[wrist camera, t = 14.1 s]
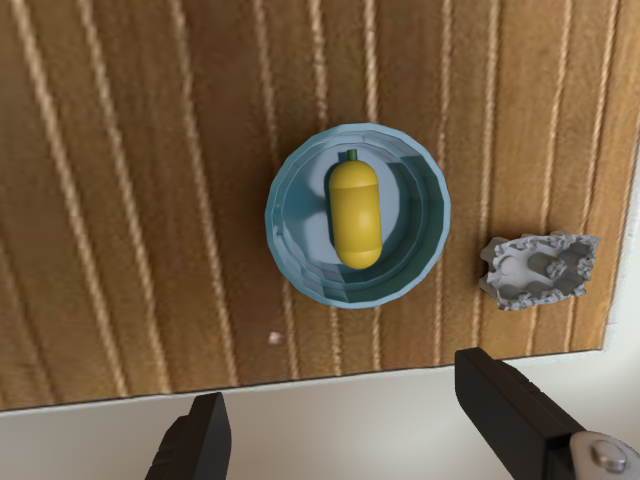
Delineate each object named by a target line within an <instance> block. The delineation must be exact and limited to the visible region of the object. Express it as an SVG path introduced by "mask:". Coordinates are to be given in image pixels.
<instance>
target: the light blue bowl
mask: <svg viewBox="0 0 640 480" xmlns="http://www.w3.org/2000/svg"><path fill="white" fill-rule="evenodd" d="M350 149H357V158H358V159H357V160H360V161H363V162H366V163H367V164H369V165H370V166H371V167H372V168H373V169H374V171H375V173H376V175H377V177H378V183H379V199H380V216H381V232H382V251H381V254H380V256H379V258H378V260H377V261H376V262H375V263H374V264H373V265H371V266H369V267H367V268H364V269H353V268H350V267H348V266H346V265H344V264H343V263H342V262H341V261H340V259H339V258H338V256H337V254H336V251H335V245H334V235H333V225H332V215H331V205H330V195H329V179H330V176H331V174H332V172H333V171H334V169H335V168H336V167H337V166H338V165H339V164H341V163H343V162H345V161H347V152H346V151H347V150H350ZM450 208H451V202H450V197H449V193H448V190H447V186H446V182H445V179H444V175H443V173H442V171H441V170H440V168H439V167H438V165H437V164H436V162H435V161H434V159H433V158H432V156H431V155H430V153H429V152H428V150H426V148H425V147H423V146H422V145H421V144H419V143H418V142H416V141H415V140H414V139H412V138H411V137H410V136H408V135H407V134H406V133H404V132H402V131H400V130H396V129H393V128H390V127H387V126H383V125H380V124H377V123H373V122H372V123H352V124H341V125H338V126H336V127H333V128H331V129H328V130H326V131H323V132H321V133H318V134H316V135H313V136H312V137H310V138H309V139H308V140H307V141H306V142H304V143H303V144H302V145H301V146H300V147H299V148H297V149H296V150H295V151H294V152H293V153H292V154H290V155H289V156H288V157H287V159H286V160H285V162H284V164H283V165H282V167H281V169H280V170H279V172H278V174H277V175H276V177H275V179H274V180H273V182H272V184H271V187H270V191H269V196H268V200H267V205H266V209H265V215H264V216H265V226H266V236H267V244H268V247H269V249H270V251H271V253H272V255H273V258H274V260H275V262H276V264H277V267H278V269H279V270H280V272H281V273H282V274H283V275H284V276H285V277H286V278H287V279H288V280H289V281H290V282H291V283H292V285H293V286H294V287H295V288H296V289H297V290H298V291H300V292H301V293H303V294H305V295H307V296H309V297H310V298H312V299H314V300H316V301H318V302H319V303H321V304H325V305H330V306H335V307H340V308H345V309H357V308H368V307H377V306H379V305H381V304H384V303H386V302H389V301H391V300H394V299H396V298H399V297H401V296H403V295H404V294H405V293H406V292H408V291H409V290H410V289H412V288H413V287H414V286H415V285H417V284H418V283H419V282H421V281H422V280H423V279H424V278H425V276H426V275H427V274H428V272H429V271H430V269H431V268H432V267H433V265H434V264H435V263H436V261H437V260H438V258H439V256H440V255H441V252H442V249H443V246H444V244H445V241H446V238H447V235H448V232H449V229H450Z"/></svg>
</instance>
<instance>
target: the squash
mask: <svg viewBox="0 0 640 480" xmlns="http://www.w3.org/2000/svg"><path fill="white" fill-rule="evenodd" d="M346 152H347V161H345V162H343V163H341V164H339V165H338V166H337V167H336V168H335V169H334V171H333V172H332V174H331V176H330V179H329V195H330V205H331V215H332V225H333V235H334V245H335V251H336V254H337V256H338V258H339V259H340V261H341V262H342V263H343V264H344V265H346V266H348V267H350V268H353V269H364V268H367V267H369V266H371V265H373V264H374V263H375V262H376V261H377V260H378V258H379V256H380V254H381V251H382V232H381V216H380V199H379V183H378V177H377V175H376V173H375V171H374V169H373V168H372V167H371V166H370V165H369V164H367V163H366V162H363V161H360V160H357V159H358V158H357V149H350V150H347V151H346Z"/></svg>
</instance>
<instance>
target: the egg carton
mask: <svg viewBox="0 0 640 480" xmlns="http://www.w3.org/2000/svg"><path fill="white" fill-rule="evenodd" d="M600 240H601V238H600V237H595V236H589V235H577V234H571V233H567V232H563V231H552V232H551V233H550V236H537V235H533V234H522V235H521V237H520V239H515V240H512V241H511V240H508V239H505V238H502V237H494V238H492V240H491V242H490V243H489V244H488V246H487V247H485V248H484V249H482V250H481V255H480V258H481V259H483V260H485V261H487V262H488V263H489V272H488V273H487V274H486V275H485V276H484V277H482V278H480V279H479V287H480V288H481V289H483V290H485V291H486V292H488V294H489V295H490V296H491V297H493V298H494V299H495V300H496V301H497V305H498V309H500V310H503V311H506V310H510V311H513V310H521V309H524V308H527V306H537V305H538V304H548V303H555V302H558V301H561V300H562V299H566V298H568V297H569V296H571V295H573V296H582V295H583V294H586V290H585V289H584V284H585V282H586V281H590V280H591V277H590V271H591V270H592V268H593V262H594V260H595V258H596V255H595V253H594V251H595V250H596V248H597V246H598V245H599V242H600Z"/></svg>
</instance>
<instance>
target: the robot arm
mask: <svg viewBox="0 0 640 480" xmlns="http://www.w3.org/2000/svg"><path fill="white" fill-rule="evenodd" d="M455 392H456V396H457V399H458V401H459V404H460V406H461V407H462V409H463V410H464V412H465V413H466V414H467V416H468V417H469V418H470V420H471V421H472V423H473V424H474V425H475V427H476V428H477V429H478V431H479V432H480V433H481V435H482V436H483V437H484V439H485V440H486V442H487V443H488V444H489V446H490V447H491V448H492V450H493V451H494V453H495V454H496V455H497V457H498V458H499V459H500V461H501V462H502V463H503V465H504V466H505V468H506V469H507V470H508V472H509V473H510V474H511V476H512V477H513V478H514V480H640V454H639V453H637V452H636V451H635V450H634V449H632V448H631V447H629V446H628V445H627V444H625V443H623V442H621V441H620V440H617V439H616V438H613V437H611V436H609V435H606V434H602V433H598V432H592V431H587V430H586V429H585V428H583V427H582V426H581V425H580V424H579V423H578V422H577V421H576V420H574V419H573V418H572V417H571V416H570V415H569V414H567V413H566V412H565V411H564V410H563V409H562V408H561V407H559V406H558V405H557V404H556V403H555V402H554V401H553V400H551V399H550V398H549V397H548V396H547V395H546V394H545V393H543V392H541V391H540V389H539V388H538V387H537V386H535V385H534V384H533V383H532V382H529V379H527V378H526V377H525V376H524V375H523V374H521V372H519V371H518V370H517V369H516V368H514V367H512V366H510V365H508V364H506V363H504V362H503V361H501V360H493V359H492V358H491V357H490V356H489V355H488V354H487V353H486V352H485V351H484V350H482V349H481V348H479V347H475V348H469V349H464V350H458V351H456V352H455ZM231 442H232V441H231V429H230V425H229V421H228V416H227V412H226V407H225V403H224V399H223V395H222V393H221V392H216V393H211V394H205V395H199V396H196V398H195V399H194V402H193V404H192V407H191V410H190V412H189V415H186V416H180V417H178V419H177V420H176V421H175V422H174V423H173V425H172V426H171V427H170V428H169V429H168V430H167V431H166V433H165V435H164V438H163V440H162V442H161V444H160V447H159V451H158V452H157V454H156V455H155V458H154V460H153V462H152V466H151V467H150V469H149V471H148V474H147V476H146V478H145V480H226V475H227V469H228V464H229V459H230V453H231Z"/></svg>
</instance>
